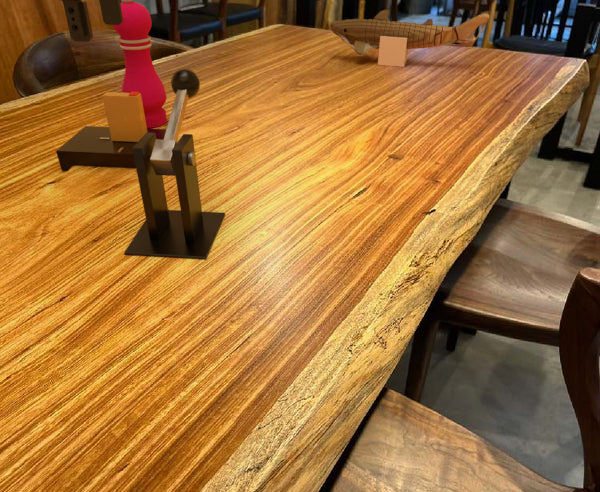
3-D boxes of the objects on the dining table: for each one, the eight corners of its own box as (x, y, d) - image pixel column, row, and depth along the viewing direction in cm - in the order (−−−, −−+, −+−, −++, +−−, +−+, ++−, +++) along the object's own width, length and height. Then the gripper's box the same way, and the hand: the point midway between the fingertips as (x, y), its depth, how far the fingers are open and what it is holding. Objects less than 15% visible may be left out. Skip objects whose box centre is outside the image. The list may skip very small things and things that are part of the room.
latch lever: (177, 85, 63) (171, 61, 60) (204, 85, 63) (199, 62, 60) (152, 177, 57) (143, 156, 54) (181, 179, 56) (174, 157, 53)
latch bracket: (154, 217, 66) (136, 122, 59) (226, 221, 65) (217, 125, 58) (125, 262, 58) (101, 158, 51) (206, 266, 57) (194, 162, 50)
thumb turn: (111, 141, 78) (101, 93, 74) (115, 137, 79) (105, 90, 75) (145, 142, 77) (136, 94, 73) (148, 138, 79) (140, 91, 75)
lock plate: (61, 170, 77) (55, 149, 75) (89, 144, 85) (85, 124, 83) (156, 175, 76) (152, 153, 74) (176, 148, 84) (173, 128, 82)
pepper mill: (155, 131, 89) (133, -5, 77) (118, 126, 91) (91, -8, 79) (177, 118, 95) (160, -12, 82) (142, 113, 97) (120, -14, 84)
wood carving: (478, 74, 118) (489, 17, 111) (324, 62, 125) (326, 8, 118) (479, 64, 125) (489, 10, 118) (333, 53, 132) (335, 2, 125)
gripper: (59, -153, 56) (93, 18, 66) (-20, -163, 45) (35, 45, 55) (128, -152, 56) (152, 21, 66) (65, -161, 45) (105, 48, 55)
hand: (99, 32), depth 60 cm, fingers open, 8 cm apart
